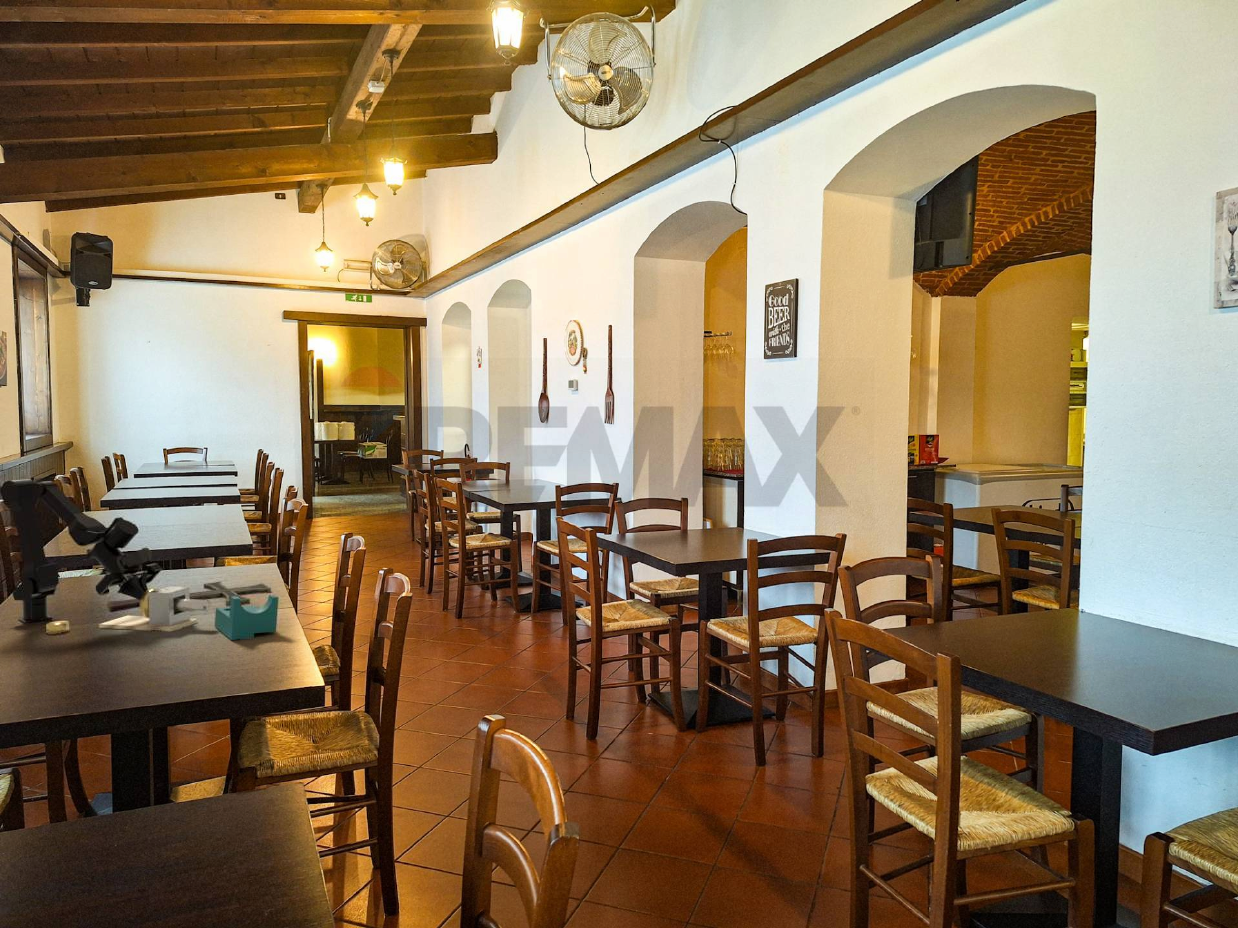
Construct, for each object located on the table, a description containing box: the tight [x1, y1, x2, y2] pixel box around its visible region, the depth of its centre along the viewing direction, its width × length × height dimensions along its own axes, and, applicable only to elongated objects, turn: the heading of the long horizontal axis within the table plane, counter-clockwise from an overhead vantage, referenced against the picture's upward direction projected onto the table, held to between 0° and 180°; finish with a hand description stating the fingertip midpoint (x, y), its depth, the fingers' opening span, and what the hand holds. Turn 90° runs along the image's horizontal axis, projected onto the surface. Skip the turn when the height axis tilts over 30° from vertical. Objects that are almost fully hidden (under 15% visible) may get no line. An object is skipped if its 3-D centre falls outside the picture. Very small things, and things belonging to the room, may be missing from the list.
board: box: [98, 615, 198, 632], centre depth 229 cm, size 22×10×1 cm, turn 80°
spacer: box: [45, 620, 70, 635], centre depth 222 cm, size 5×5×2 cm
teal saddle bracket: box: [214, 594, 280, 641], centre depth 223 cm, size 18×11×10 cm, turn 38°
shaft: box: [139, 588, 211, 618], centre depth 227 cm, size 17×8×8 cm, turn 80°
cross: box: [106, 580, 272, 612], centre depth 262 cm, size 35×2×45 cm
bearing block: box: [149, 586, 191, 627], centre depth 227 cm, size 6×8×9 cm
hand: (149, 601), depth 228 cm, fingers closed
